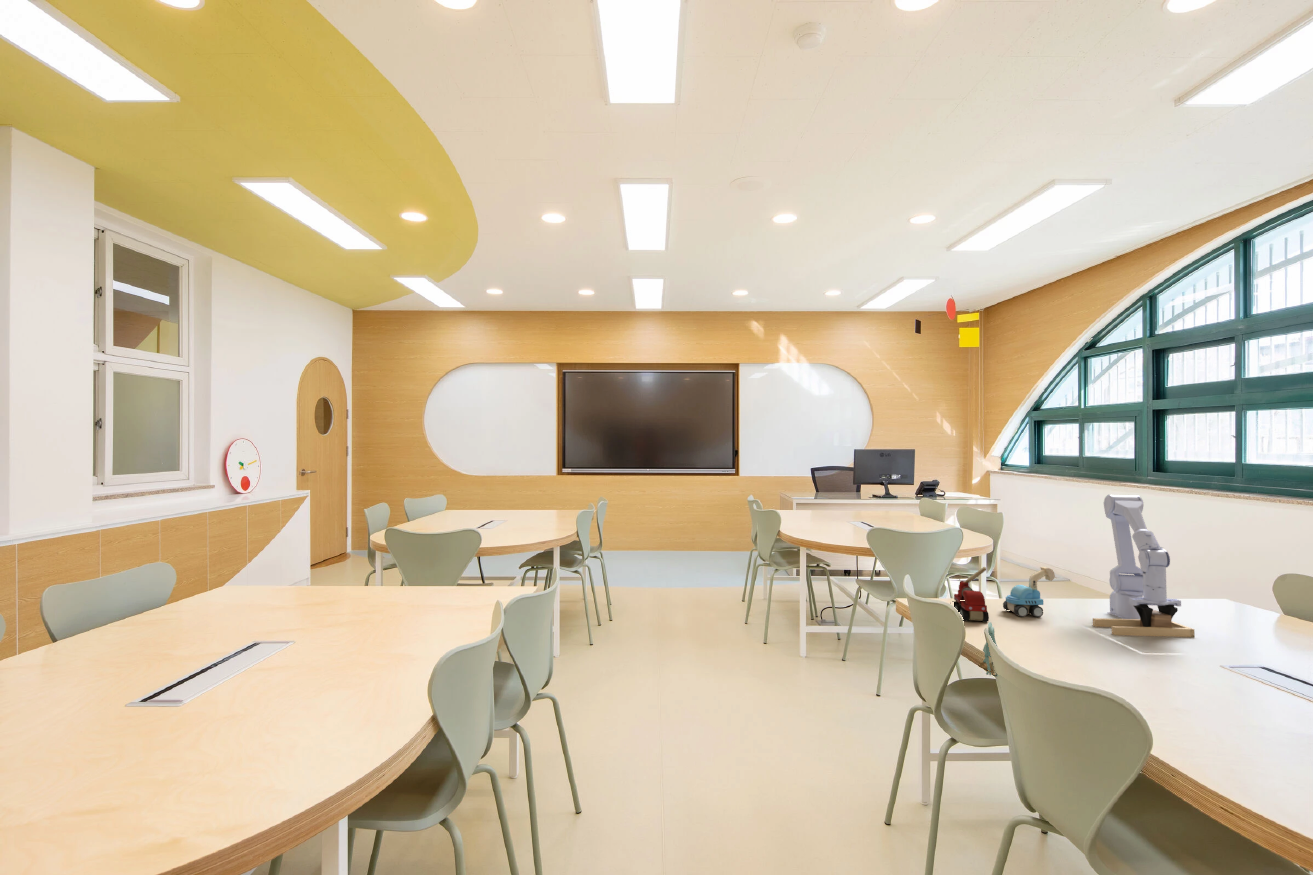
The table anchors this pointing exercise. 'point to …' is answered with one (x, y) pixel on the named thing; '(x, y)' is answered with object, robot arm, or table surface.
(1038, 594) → the toy excavator
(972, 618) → the toy fire truck
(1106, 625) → the bay
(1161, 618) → the box
